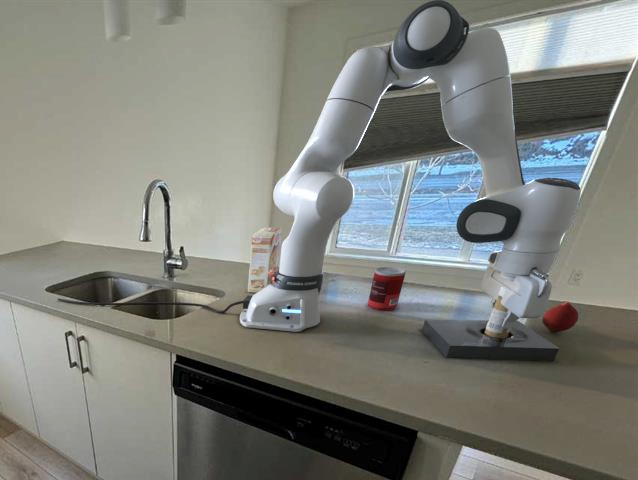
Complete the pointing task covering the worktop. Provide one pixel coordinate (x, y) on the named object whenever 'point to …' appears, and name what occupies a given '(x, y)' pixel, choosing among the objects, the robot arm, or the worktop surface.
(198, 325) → the worktop surface
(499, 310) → the sprinkles bottle
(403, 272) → the canned food
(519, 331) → the dark grey slab holder
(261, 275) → the coffeecake box
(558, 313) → the onion
